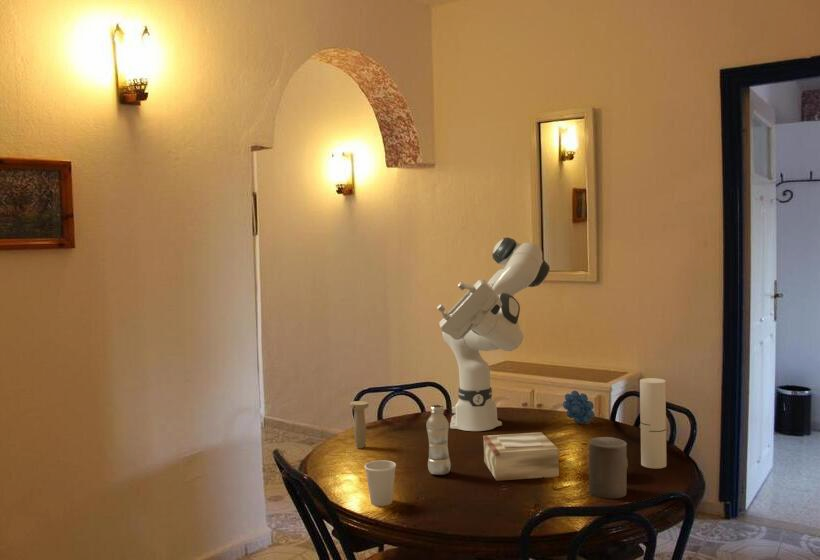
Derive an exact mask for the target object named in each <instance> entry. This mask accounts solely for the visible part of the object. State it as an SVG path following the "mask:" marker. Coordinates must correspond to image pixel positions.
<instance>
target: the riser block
mask: <svg viewBox="0 0 820 560" xmlns="http://www.w3.org/2000/svg"><path fill="white" fill-rule="evenodd" d="M482 438H483V439H482V440H483V462H484V464H485V466H486V467H487V468H488V469H489V472H490V473H491V474H492V476H493V477H494V479H495V481H511V480H525V479H542V478H543V477H544V478H556V477H557V478H558V476H559V477H560V469H559V468H560V467H559V464H560V463H559V459H560V458H559V448H558V447H557V446H556V445H555V444H554V443H553V442H552V441H551V440H550V439H549V438H548V437H547V436H546V435H544V433H543V432H542V431H541V432H524V433H508V434H507V433H506V434H493V435H491V434H490V435H482Z"/></svg>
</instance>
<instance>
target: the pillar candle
mask: <svg viewBox="0 0 820 560" xmlns="http://www.w3.org/2000/svg"><path fill="white" fill-rule="evenodd" d="M588 442H589V445H588V450H589V452H588V459H589V460H588V461H589V462H588V466H589V467H588V468H589V469H588V471H589V472H588V473H589V474H588V475H589V476H588V481H589V494H591V495H592V496H594V497H597V498H600V499H601V498H602V499H613V500H614V499H621V498H624V497H625V496H627V487H628V486H627V485H628V484H627V483H628V482H627V477H628V475H627V472H628V471H627V470H628V467H627V459H628V457H627V444H628V443H627V441H625V440H623V439H620V438H617V437H612V436H611V437H608V436H602V437H601V436H599V437H593V438H591V439H590V440H589V441H588Z"/></svg>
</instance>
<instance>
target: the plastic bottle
mask: <svg viewBox="0 0 820 560" xmlns="http://www.w3.org/2000/svg"><path fill="white" fill-rule="evenodd" d="M444 408H445V407H444V405H442V404H433V405H431V406H430V412H429V413H431V415H429V417H428V419H427V420H426V423H425V424H426V427H425V428H426V433H427V437H428V459H427V468H428V471H429V473H430V474H432V475H436V476H439V475H440V476H443V475H447V474H449V472H450V471H451V467H452V466H451V465H452V463H451V458H450V455H449V448H448V447H449V445H448V444H449V443H448V439H449V437H448V436H449V429H450V423H449V421H448V419H447V417H446V416H445V415H444V413H445V410H444Z"/></svg>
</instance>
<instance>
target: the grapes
mask: <svg viewBox="0 0 820 560" xmlns="http://www.w3.org/2000/svg"><path fill="white" fill-rule="evenodd" d="M564 399H565V401H563V402H562V406H563V408H564V410H567V411H566V416H567V417H568V418H569V419H573V421H574V422H575V424H577V423H578V424H577V425H580V423H581V424H582V423H583V424H585V425H588V424H590V423H591V419H594V418H595V416H596V415H595V412H594V410H593V409H594V408H595V406H594V403H593V402H592V401H590V400H589V397H588V395H587V394H586V393H583V392H582V393H579V392H578V391H577V390H572V391H571V393H565V395H564Z"/></svg>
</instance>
